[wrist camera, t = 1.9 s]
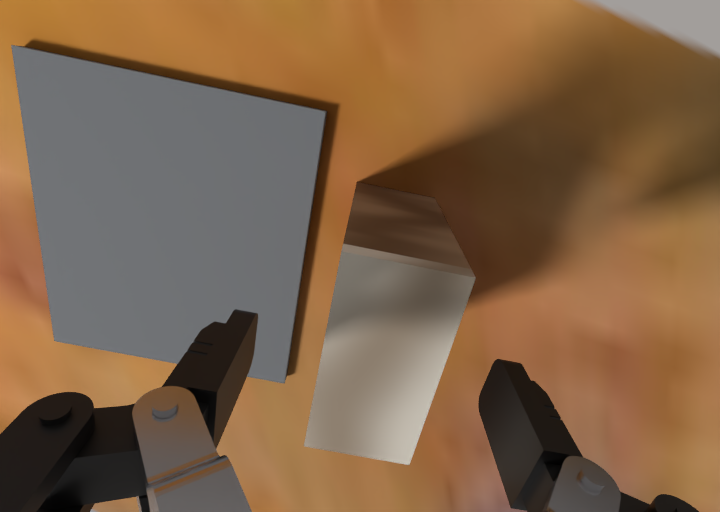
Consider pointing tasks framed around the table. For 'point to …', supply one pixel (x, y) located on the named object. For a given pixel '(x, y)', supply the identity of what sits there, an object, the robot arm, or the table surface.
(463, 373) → the table surface
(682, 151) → the table surface
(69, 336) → the mat
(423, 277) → the slab
